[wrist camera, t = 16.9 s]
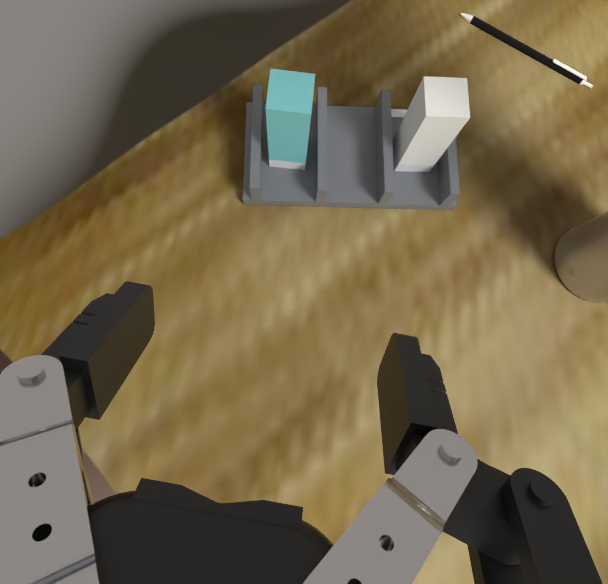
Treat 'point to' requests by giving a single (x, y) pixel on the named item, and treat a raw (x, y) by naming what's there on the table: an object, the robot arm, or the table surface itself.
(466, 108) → the white rectangular block
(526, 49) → the pen
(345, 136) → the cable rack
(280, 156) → the teal plug
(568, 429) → the table surface
